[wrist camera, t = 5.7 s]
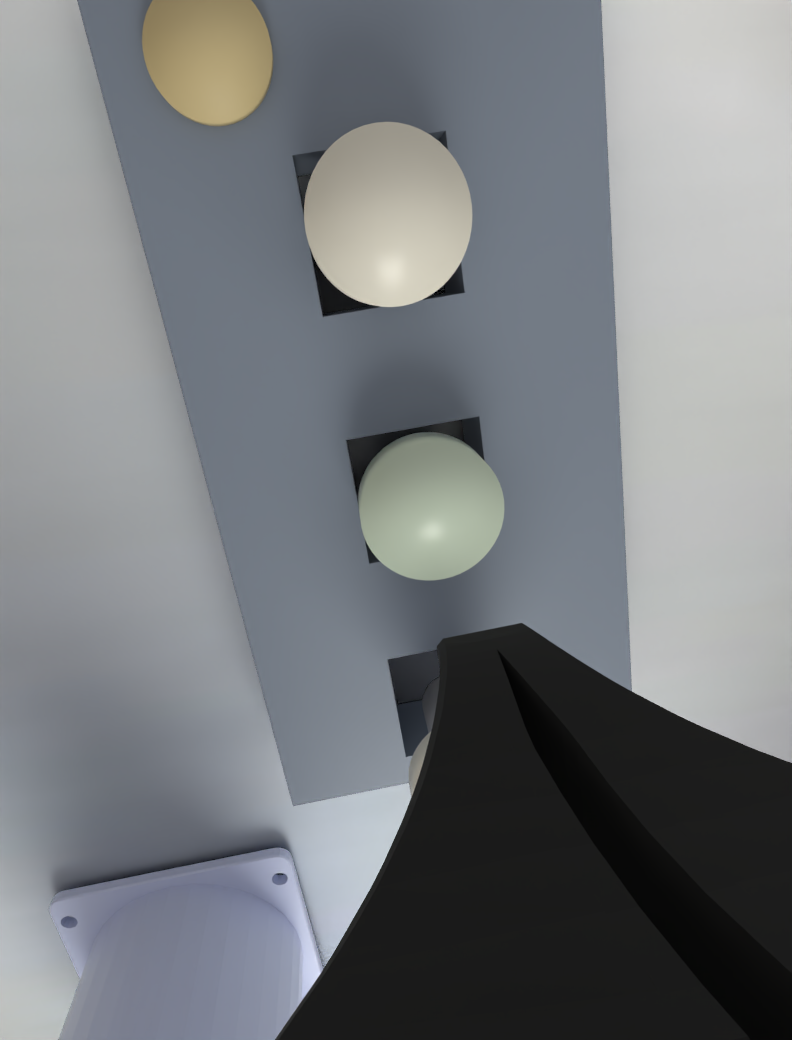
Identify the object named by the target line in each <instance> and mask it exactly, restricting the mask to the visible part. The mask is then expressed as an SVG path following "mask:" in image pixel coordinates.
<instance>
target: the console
mask: <svg viewBox="0 0 792 1040" xmlns="http://www.w3.org/2000/svg"><path fill="white" fill-rule="evenodd" d="M77 1H78V5H79V8H80V12H81V16H82V20H83V23H84V27H85V31H86V35H87V38H88V42H89V46H90V50H91V53H92V57H93V61H94V64H95V68H96V72H97V76H98V79H99V83H100V87H101V91H102V94H103V98H104V102H105V106H106V109H107V113H108V117H109V120H110V124H111V128H112V132H113V135H114V139H115V143H116V147H117V150H118V154H119V158H120V162H121V165H122V169H123V173H124V176H125V180H126V184H127V188H128V191H129V195H130V199H131V203H132V206H133V210H134V214H135V218H136V221H137V225H138V229H139V233H140V236H141V240H142V244H143V247H144V251H145V255H146V259H147V262H148V266H149V270H150V274H151V277H152V281H153V285H154V289H155V292H156V296H157V300H158V303H159V307H160V311H161V315H162V318H163V322H164V326H165V330H166V333H167V337H168V341H169V345H170V348H171V352H172V356H173V359H174V363H175V367H176V371H177V374H178V378H179V382H180V386H181V389H182V393H183V397H184V401H185V404H186V408H187V412H188V415H189V419H190V423H191V427H192V430H193V434H194V438H195V442H196V445H197V449H198V453H199V457H200V460H201V464H202V468H203V471H204V475H205V479H206V483H207V486H208V490H209V494H210V498H211V501H212V505H213V509H214V513H215V516H216V520H217V524H218V527H219V531H220V535H221V539H222V542H223V546H224V550H225V554H226V557H227V561H228V565H229V569H230V572H231V576H232V580H233V584H234V587H235V591H236V595H237V598H238V602H239V606H240V610H241V613H242V617H243V621H244V625H245V628H246V632H247V636H248V640H249V643H250V647H251V651H252V654H253V658H254V662H255V666H256V669H257V673H258V677H259V681H260V684H261V688H262V692H263V696H264V699H265V703H266V707H267V710H268V714H269V718H270V722H271V725H272V729H273V733H274V737H275V740H276V744H277V748H278V752H279V755H280V759H281V763H282V766H283V770H284V774H285V778H286V781H287V785H288V789H289V793H290V796H291V800H292V804H293V806H296V805H301V804H306V803H311V802H316V801H321V800H326V799H331V798H336V797H341V796H346V795H351V794H356V793H361V792H365V791H370V790H375V789H380V788H385V787H390V786H395V785H400V784H405V783H409V766H410V762H411V759H412V756H413V754H414V752H415V750H416V748H417V747H418V745H419V744H420V742H421V741H422V740H423V739H424V738H425V737H426V735H427V734H428V729H427V724H426V720H425V716H424V711H423V707H422V700H419V701H414V702H409V703H404V704H399V705H397V702H396V697H395V692H394V686H393V681H392V676H391V670H390V665H389V660H388V659H393V658H398V657H403V656H408V655H413V654H418V653H424V652H429V651H434V650H437V645H438V644H439V643H440V642H441V640H442V639H443V638H448V637H453V636H458V635H463V634H468V633H473V632H478V631H483V630H488V629H493V628H498V627H503V626H508V625H513V624H519V623H523V624H525V625H526V626H528V627H529V628H531V629H532V630H534V631H535V632H537V633H538V634H540V635H541V636H543V637H544V638H546V639H547V640H549V641H550V642H552V643H553V644H555V645H556V646H558V647H559V648H561V649H563V650H564V651H566V652H567V653H569V654H570V655H572V656H573V657H575V658H576V659H578V660H580V661H581V662H583V663H584V664H586V665H588V666H589V667H591V668H592V669H594V670H596V671H597V672H599V673H601V674H602V675H604V676H606V677H607V678H609V679H611V680H612V681H614V682H616V683H618V684H619V685H621V686H623V687H625V688H626V689H628V690H630V691H632V685H631V663H630V640H629V618H628V595H627V573H626V550H625V528H624V506H623V483H622V461H621V438H620V416H619V393H618V371H617V349H616V326H615V304H614V281H613V259H612V236H611V214H610V192H609V169H608V147H607V124H606V102H605V79H604V57H603V34H602V12H601V0H77ZM377 122H398V123H403V124H407V125H411V126H413V127H416V128H418V129H421V130H423V131H424V132H426V133H428V134H430V135H431V136H433V137H434V138H435V139H437V140H438V141H439V142H440V143H441V144H442V145H443V146H444V147H445V148H446V149H447V150H448V151H449V152H450V153H451V155H452V156H453V157H454V158H455V160H456V161H457V163H458V165H459V166H460V168H461V170H462V172H463V174H464V177H465V179H466V182H467V185H468V188H469V192H470V197H471V203H472V229H471V234H470V240H469V243H468V246H467V249H466V252H465V254H464V257H463V259H462V261H461V263H460V265H459V266H458V268H457V269H456V271H455V272H454V274H453V275H452V276H451V277H450V279H449V280H448V281H447V282H446V283H445V291H446V293H444V294H438V295H432V296H428V297H426V298H424V299H423V300H420V301H418V302H415V303H413V304H409V305H404V306H398V307H380V306H374V305H373V306H367V307H361V308H356V309H350V310H344V311H338V312H332V313H326V314H323V309H322V303H321V298H320V293H319V288H318V282H317V277H316V272H315V266H314V261H313V256H312V252H311V249H310V246H309V243H308V239H307V235H306V231H305V223H304V208H303V202H302V197H301V192H300V186H299V181H298V176H302V175H308V174H312V172H313V170H314V169H315V167H316V165H317V163H318V161H319V160H320V158H321V157H322V156H323V154H324V153H325V151H326V150H327V149H328V148H329V147H330V146H331V145H332V144H333V143H334V142H335V141H337V140H338V139H339V138H340V137H342V136H343V135H345V134H346V133H348V132H350V131H352V130H353V129H356V128H358V127H361V126H363V125H367V124H371V123H377ZM456 420H462V426H463V433H464V441H465V443H466V444H468V445H469V446H470V447H471V448H472V449H474V450H475V451H476V453H477V454H478V455H479V456H480V457H481V458H482V459H483V460H484V461H485V462H486V463H487V464H488V465H489V466H490V468H491V469H492V470H493V472H494V473H495V475H496V477H497V479H498V481H499V483H500V486H501V489H502V492H503V497H504V519H503V524H502V528H501V530H500V533H499V536H498V538H497V540H496V541H495V543H494V545H493V546H492V548H491V549H490V551H489V552H488V553H487V554H486V555H485V556H484V558H483V559H481V560H480V561H479V562H478V563H477V564H476V565H474V566H473V567H471V568H470V569H468V570H466V571H465V572H463V573H461V574H458V575H456V576H453V577H450V578H446V579H441V580H417V579H412V578H408V577H405V576H402V575H400V574H398V573H396V572H394V571H392V570H390V569H389V568H388V567H386V566H385V565H384V564H382V563H381V562H380V561H379V560H378V559H377V558H376V556H375V555H374V554H373V553H372V551H371V550H370V548H369V546H368V544H367V542H366V540H365V538H364V535H363V531H362V527H361V521H360V514H359V506H358V495H357V490H356V484H355V479H354V474H353V468H352V463H351V458H350V452H349V447H348V442H347V440H350V439H355V438H361V437H367V436H372V435H378V434H383V433H389V432H395V431H400V430H406V429H411V428H417V427H422V426H428V425H434V424H439V423H445V422H450V421H456Z"/></svg>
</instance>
